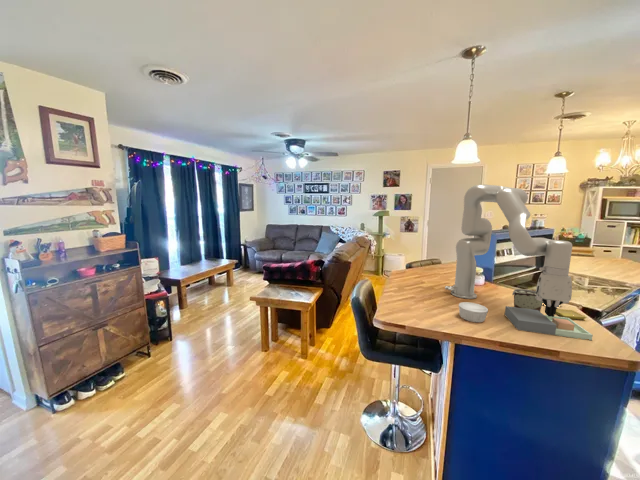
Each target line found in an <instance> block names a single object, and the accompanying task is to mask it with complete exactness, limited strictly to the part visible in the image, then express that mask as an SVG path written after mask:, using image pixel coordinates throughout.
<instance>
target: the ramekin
mask: <svg viewBox="0 0 640 480" xmlns="http://www.w3.org/2000/svg"><path fill="white" fill-rule="evenodd" d="M458 309H459V316H460V318H461V319H464V320H465V321H468V322H471V323H483V322H485V320H486V319H487V314H488V312H489V309H488V308H487V307H486V306H485V305H482V304H479V303H476V302H467V301H465V302H464V301H463V302H459V303H458Z"/></svg>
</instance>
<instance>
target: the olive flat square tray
mask: <svg viewBox="0 0 640 480" xmlns="http://www.w3.org/2000/svg"><path fill="white" fill-rule="evenodd" d="M555 315H558V316H559V317H565V318H570V319H571V320H576V319H583V320H585V319H587V316H585V315H583V314H581V313H579V312H577V311H575V310H573V309H565V308H564V309H562V308H558V309H556V314H555ZM573 315H574V316H573Z"/></svg>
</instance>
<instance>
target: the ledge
mask: <svg viewBox="0 0 640 480" xmlns="http://www.w3.org/2000/svg"><path fill="white" fill-rule="evenodd" d="M545 315H546V314H543V313H542V312H541V310H540V311H538V310H533V309H525V308H517V307H514V306H507V305H506V306H505V308H504V316H505V317H507V319H508V321H510V322H511V323H512V325H513V327H515V329H516V330H518V331H522V332H531V333H538V334H544V335H551V336H556V335H555V332H556V324H554V323H553V322H552V321H551V320H549V319H548V318H547V317H546V316H545Z"/></svg>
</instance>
